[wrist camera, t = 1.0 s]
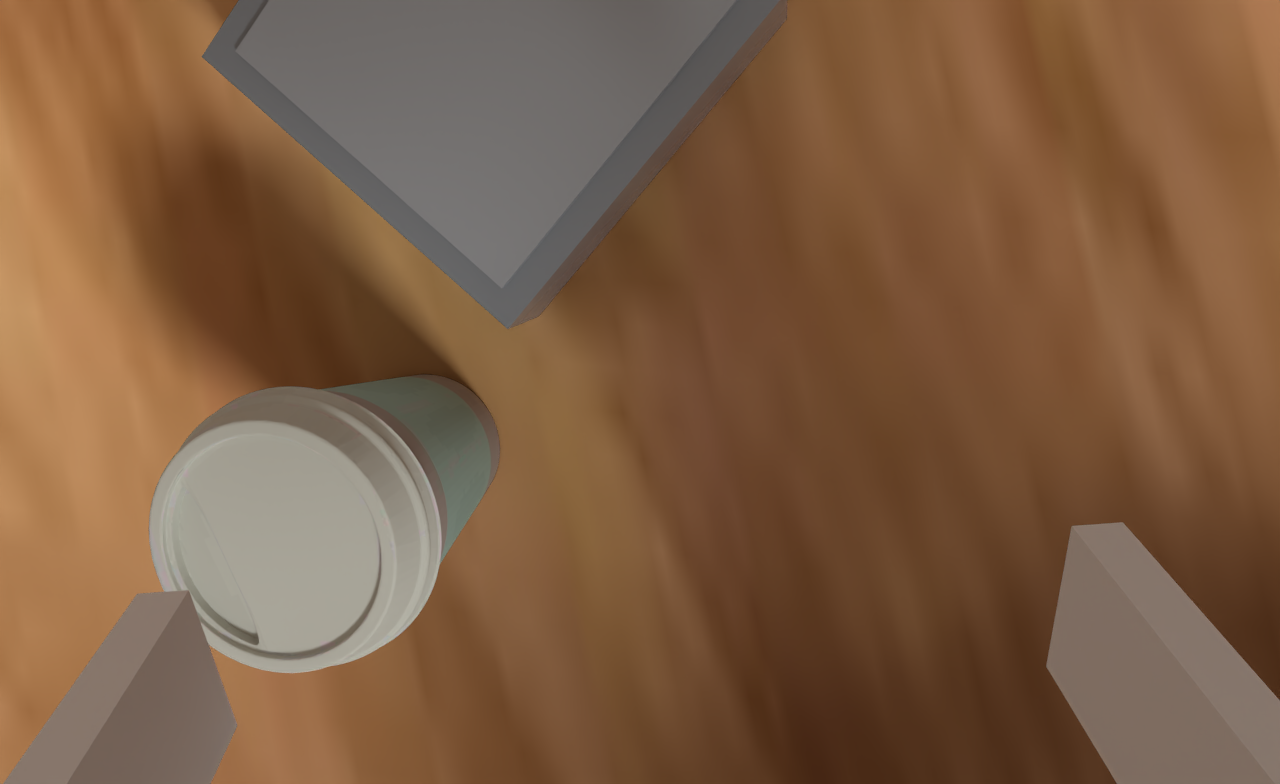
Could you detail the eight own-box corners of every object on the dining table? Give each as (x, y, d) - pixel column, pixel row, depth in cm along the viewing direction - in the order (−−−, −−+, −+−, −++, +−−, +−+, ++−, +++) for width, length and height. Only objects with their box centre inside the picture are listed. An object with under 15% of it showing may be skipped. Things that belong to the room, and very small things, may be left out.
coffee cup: (343, 321, 37) (138, 371, 25) (548, 363, 36) (434, 435, 24) (322, 520, 38) (121, 653, 27) (517, 565, 37) (396, 723, 26)
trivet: (787, 18, 32) (787, -11, 28) (538, 316, 35) (505, 329, 31) (486, -252, 32) (442, -321, 28) (266, 74, 35) (197, 55, 31)
